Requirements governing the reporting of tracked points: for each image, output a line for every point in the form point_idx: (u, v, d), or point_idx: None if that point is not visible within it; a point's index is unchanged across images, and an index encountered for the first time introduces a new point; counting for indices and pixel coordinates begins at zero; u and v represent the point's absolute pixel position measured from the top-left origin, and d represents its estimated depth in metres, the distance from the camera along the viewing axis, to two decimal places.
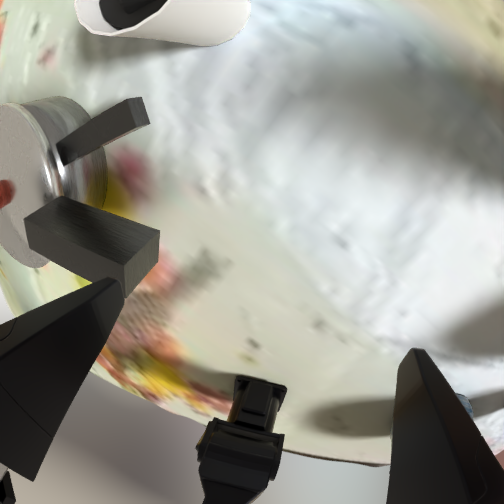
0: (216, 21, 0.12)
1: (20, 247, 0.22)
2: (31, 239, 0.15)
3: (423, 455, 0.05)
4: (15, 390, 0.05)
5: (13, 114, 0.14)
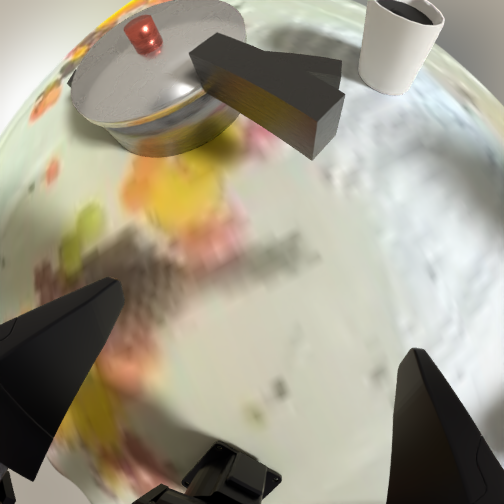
0: (412, 66, 0.19)
1: (104, 95, 0.18)
2: (207, 46, 0.14)
3: (423, 455, 0.05)
4: (15, 390, 0.05)
5: (231, 8, 0.18)
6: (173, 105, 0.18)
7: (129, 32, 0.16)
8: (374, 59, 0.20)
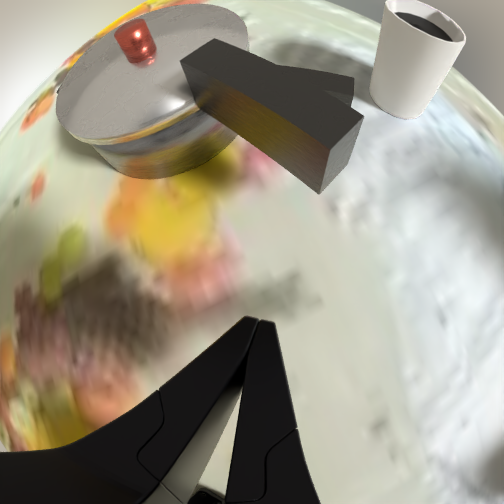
0: (429, 87, 0.17)
1: (89, 107, 0.16)
2: (201, 54, 0.12)
3: None
4: (177, 484, 0.04)
5: (234, 15, 0.17)
6: (161, 122, 0.16)
7: (119, 37, 0.14)
8: (388, 78, 0.18)
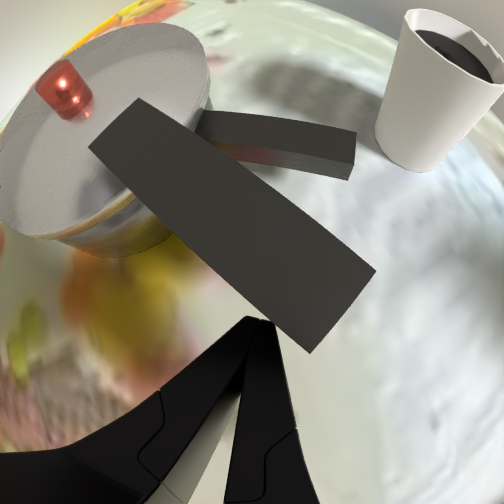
0: (455, 139, 0.13)
1: (18, 186, 0.12)
2: (116, 133, 0.08)
3: None
4: (177, 484, 0.04)
5: (191, 38, 0.13)
6: (91, 219, 0.12)
7: (38, 91, 0.10)
8: (402, 124, 0.15)
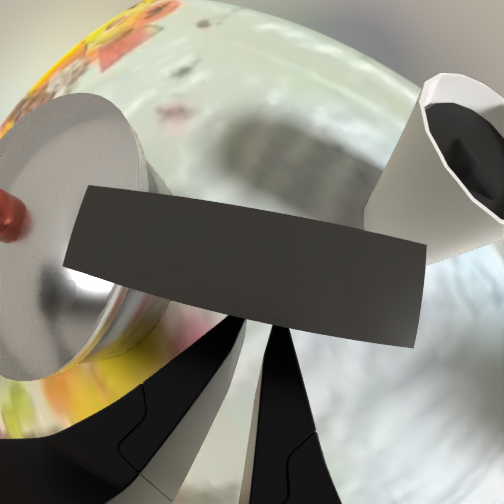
0: None
1: None
2: (87, 235, 0.07)
3: (251, 438, 0.05)
4: (159, 477, 0.04)
5: (95, 98, 0.12)
6: (96, 332, 0.10)
7: None
8: (395, 235, 0.13)
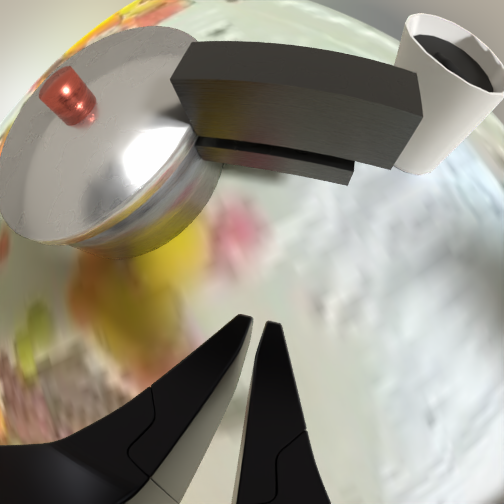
0: (454, 144, 0.14)
1: (51, 198, 0.12)
2: (194, 62, 0.09)
3: (243, 436, 0.05)
4: (168, 480, 0.04)
5: (162, 28, 0.14)
6: (164, 170, 0.12)
7: (49, 96, 0.11)
8: None
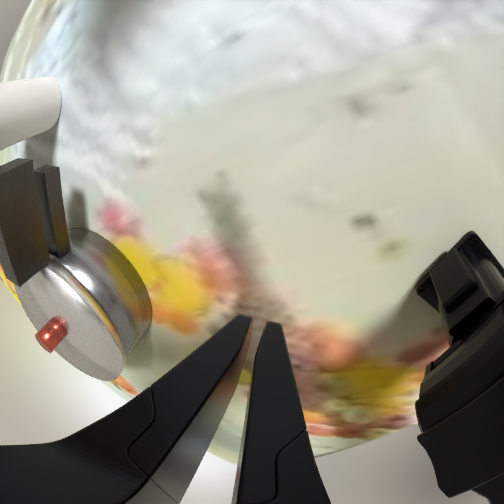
0: (22, 95, 0.15)
1: (96, 341, 0.23)
2: (11, 277, 0.17)
3: (243, 436, 0.05)
4: (168, 480, 0.04)
5: (14, 283, 0.24)
6: (65, 278, 0.21)
7: (48, 345, 0.22)
8: (27, 131, 0.18)
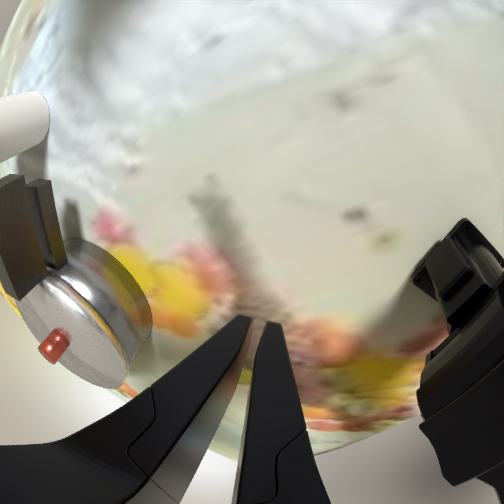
0: (10, 112, 0.16)
1: (98, 350, 0.23)
2: (10, 291, 0.17)
3: (243, 436, 0.05)
4: (168, 480, 0.04)
5: (14, 298, 0.24)
6: (64, 290, 0.21)
7: (51, 357, 0.22)
8: (17, 147, 0.18)
